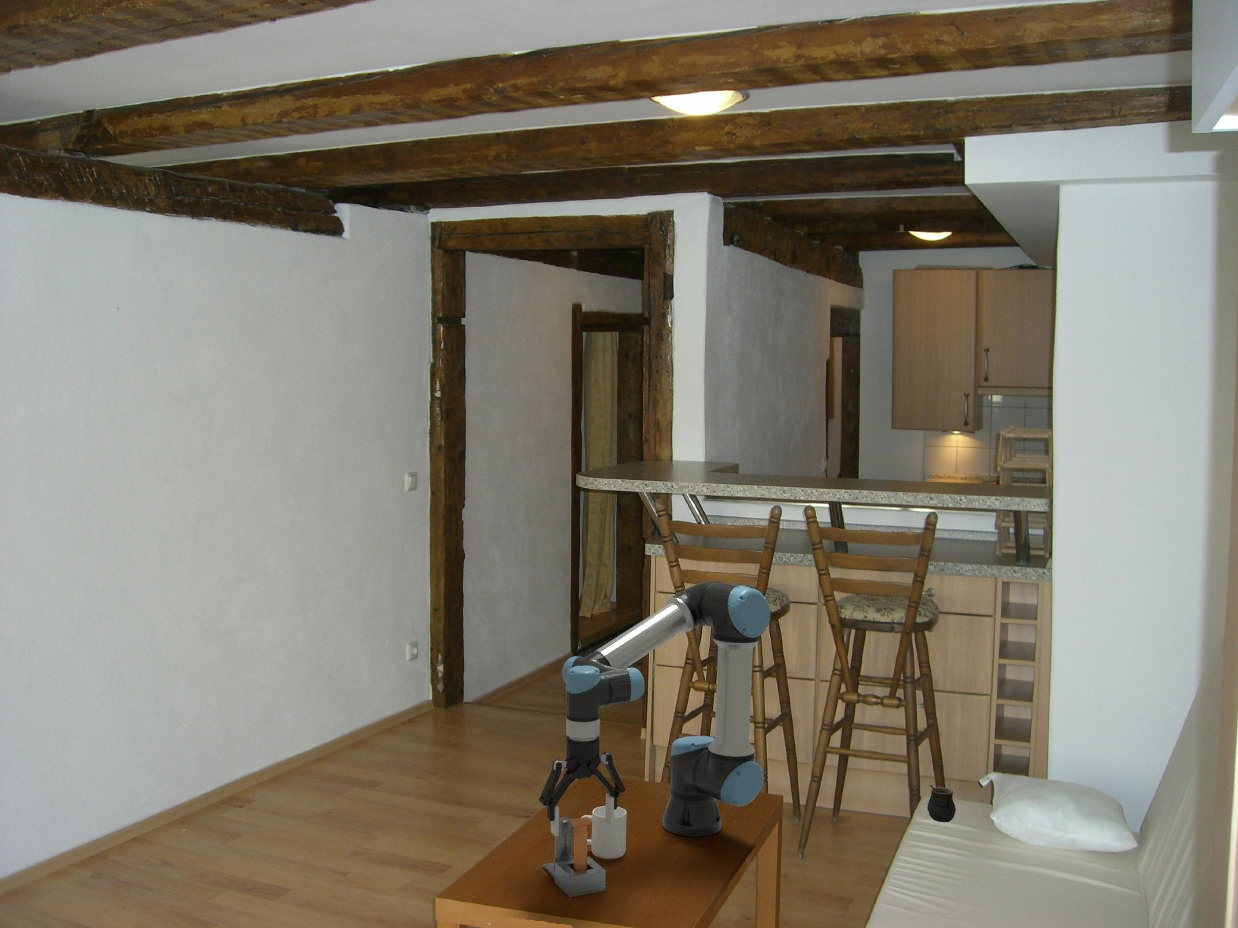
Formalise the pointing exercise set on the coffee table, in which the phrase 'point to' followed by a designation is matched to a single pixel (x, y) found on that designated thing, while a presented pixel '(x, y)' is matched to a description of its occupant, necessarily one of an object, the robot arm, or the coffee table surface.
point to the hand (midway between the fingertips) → (582, 828)
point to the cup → (608, 833)
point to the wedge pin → (580, 843)
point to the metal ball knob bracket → (564, 866)
